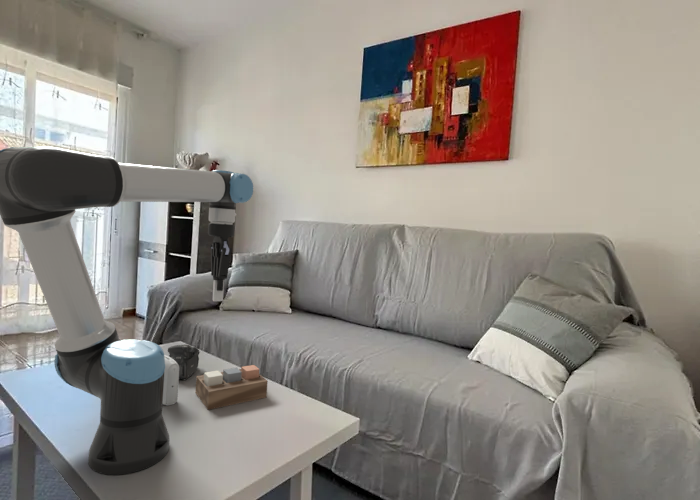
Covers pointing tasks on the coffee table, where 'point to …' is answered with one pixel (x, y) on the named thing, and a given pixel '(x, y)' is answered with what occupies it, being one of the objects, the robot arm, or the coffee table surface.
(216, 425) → the coffee table surface
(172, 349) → the camera
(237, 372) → the slate key
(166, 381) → the photo printer
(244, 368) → the terracotta key
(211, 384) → the cream short block
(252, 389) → the wooden block tray
